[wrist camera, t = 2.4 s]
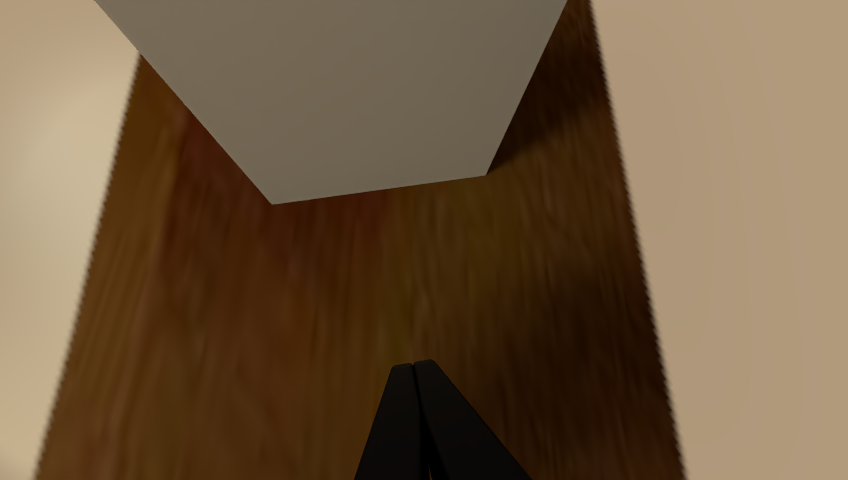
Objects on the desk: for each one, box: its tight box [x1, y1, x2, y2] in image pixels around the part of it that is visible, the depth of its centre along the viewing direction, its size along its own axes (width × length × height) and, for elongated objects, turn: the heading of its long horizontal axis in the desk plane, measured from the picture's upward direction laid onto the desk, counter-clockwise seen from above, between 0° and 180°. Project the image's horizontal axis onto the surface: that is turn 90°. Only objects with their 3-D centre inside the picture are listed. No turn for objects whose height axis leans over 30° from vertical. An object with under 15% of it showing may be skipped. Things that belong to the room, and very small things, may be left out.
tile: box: [95, 0, 567, 204], centre depth 12 cm, size 2×9×11 cm, turn 100°
